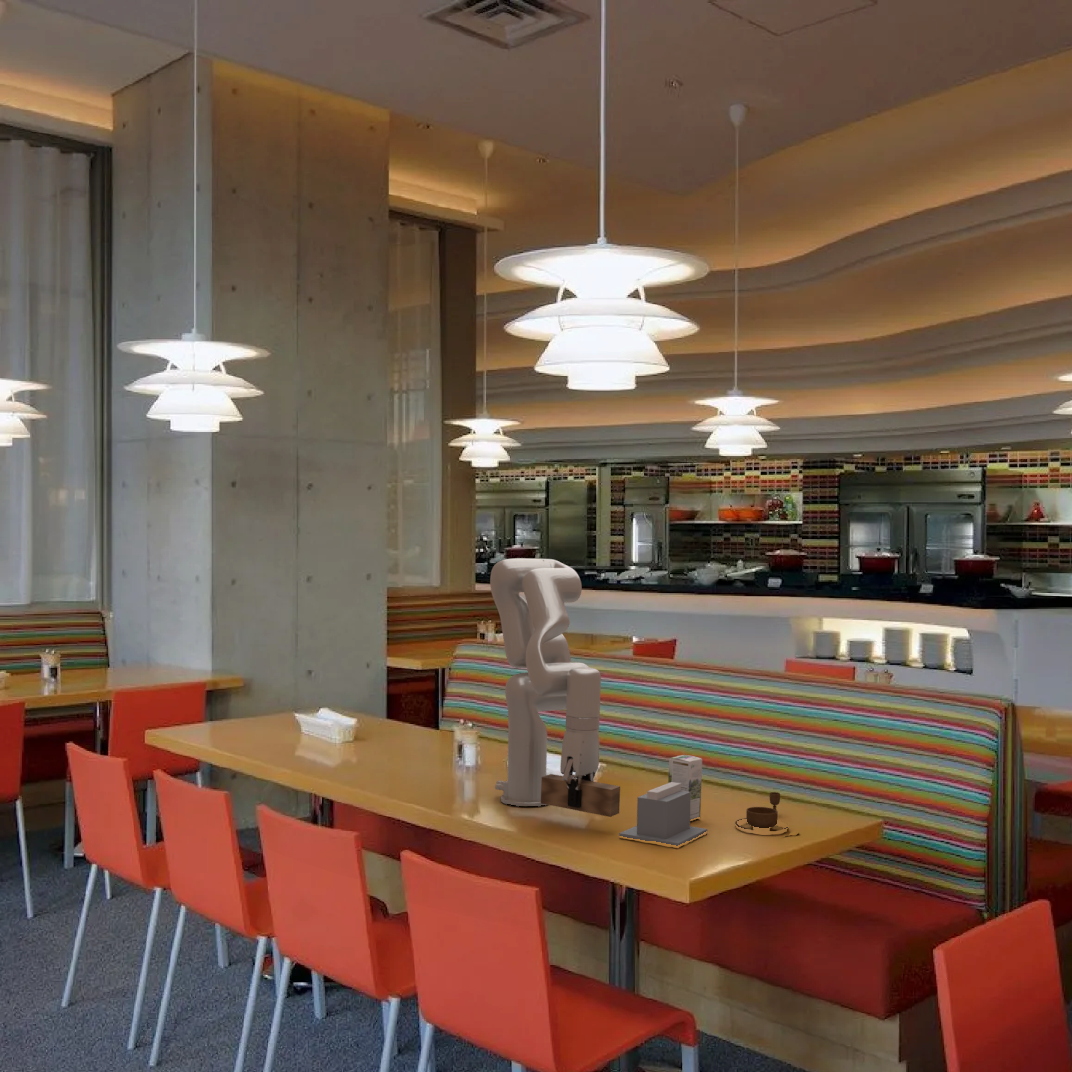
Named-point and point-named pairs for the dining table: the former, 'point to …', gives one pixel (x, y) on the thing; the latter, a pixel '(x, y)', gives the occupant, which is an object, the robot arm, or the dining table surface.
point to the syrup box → (688, 779)
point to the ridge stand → (664, 816)
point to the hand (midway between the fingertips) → (579, 803)
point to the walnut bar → (593, 799)
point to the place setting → (763, 814)
